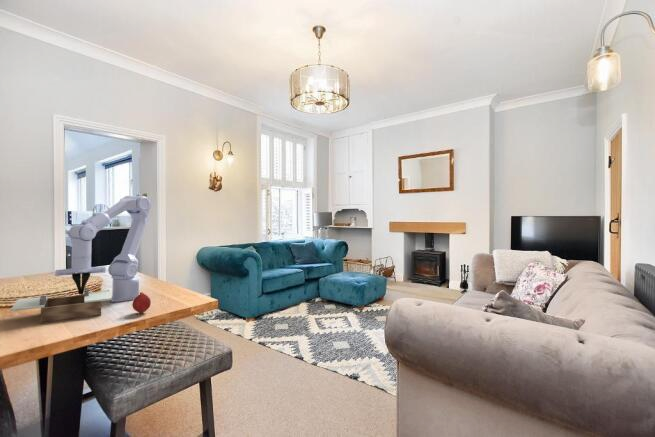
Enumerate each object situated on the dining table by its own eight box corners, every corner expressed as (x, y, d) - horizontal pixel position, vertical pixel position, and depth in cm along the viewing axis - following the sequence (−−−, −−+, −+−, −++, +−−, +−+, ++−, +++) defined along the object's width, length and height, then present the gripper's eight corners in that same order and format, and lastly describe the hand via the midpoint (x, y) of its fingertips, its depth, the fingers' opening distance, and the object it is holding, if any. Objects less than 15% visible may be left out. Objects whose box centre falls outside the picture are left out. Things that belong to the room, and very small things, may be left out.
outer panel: (47, 297, 114) (47, 290, 114) (44, 307, 104) (44, 299, 104) (17, 301, 109) (17, 293, 109) (10, 311, 99) (10, 303, 99)
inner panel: (109, 291, 125) (109, 285, 125) (111, 299, 115) (111, 292, 115) (84, 294, 120) (84, 287, 120) (84, 302, 110) (84, 295, 110)
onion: (137, 310, 119) (137, 289, 119) (153, 311, 120) (153, 290, 120) (129, 316, 114) (129, 293, 113) (145, 316, 114) (146, 294, 114)
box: (99, 305, 123) (99, 293, 123) (100, 315, 113) (101, 301, 113) (44, 312, 114) (45, 298, 114) (40, 323, 103) (41, 308, 103)
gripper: (54, 259, 109) (54, 298, 109) (106, 257, 118) (105, 293, 118) (56, 256, 115) (55, 294, 115) (105, 254, 123) (104, 289, 124)
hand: (80, 293), depth 117 cm, fingers closed
